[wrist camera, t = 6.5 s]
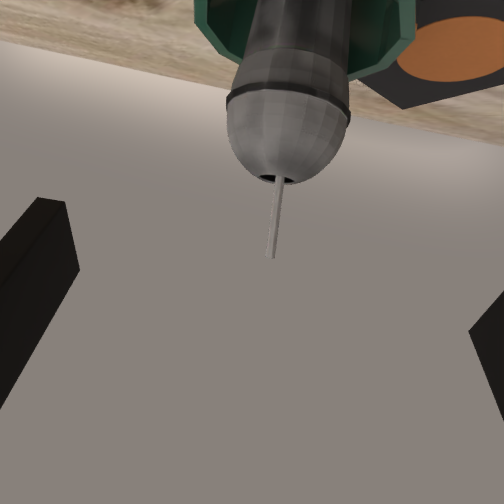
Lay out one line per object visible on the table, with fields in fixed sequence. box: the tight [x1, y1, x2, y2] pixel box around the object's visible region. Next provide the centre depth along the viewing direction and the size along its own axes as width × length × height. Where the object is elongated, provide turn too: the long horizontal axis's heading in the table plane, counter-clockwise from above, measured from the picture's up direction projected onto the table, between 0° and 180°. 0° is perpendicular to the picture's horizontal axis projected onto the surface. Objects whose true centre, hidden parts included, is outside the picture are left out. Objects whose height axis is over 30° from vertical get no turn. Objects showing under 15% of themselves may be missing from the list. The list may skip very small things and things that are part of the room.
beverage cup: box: [226, 0, 352, 258], centre depth 23 cm, size 7×7×20 cm
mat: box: [358, 0, 504, 110], centre depth 32 cm, size 18×14×1 cm
